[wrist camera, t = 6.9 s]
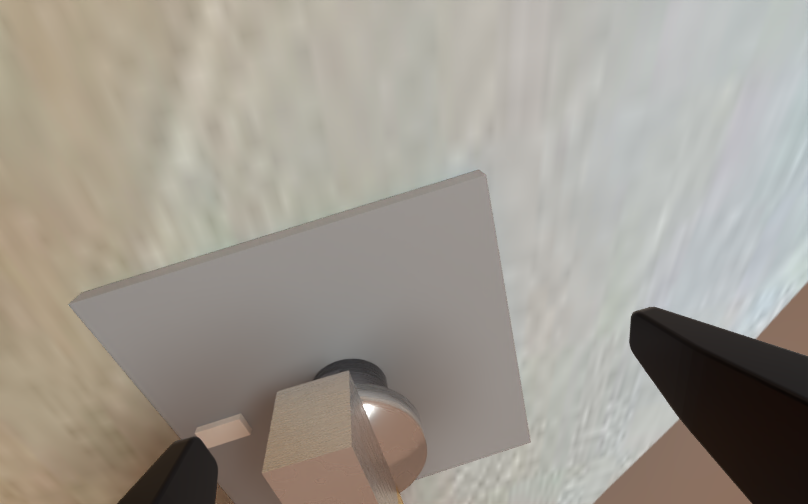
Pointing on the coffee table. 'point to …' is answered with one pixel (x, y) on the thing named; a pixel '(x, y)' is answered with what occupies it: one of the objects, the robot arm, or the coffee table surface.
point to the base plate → (328, 328)
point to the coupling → (343, 443)
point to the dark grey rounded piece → (355, 371)
